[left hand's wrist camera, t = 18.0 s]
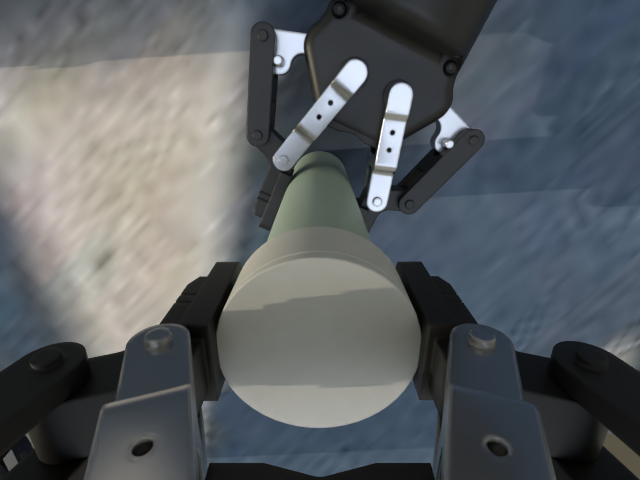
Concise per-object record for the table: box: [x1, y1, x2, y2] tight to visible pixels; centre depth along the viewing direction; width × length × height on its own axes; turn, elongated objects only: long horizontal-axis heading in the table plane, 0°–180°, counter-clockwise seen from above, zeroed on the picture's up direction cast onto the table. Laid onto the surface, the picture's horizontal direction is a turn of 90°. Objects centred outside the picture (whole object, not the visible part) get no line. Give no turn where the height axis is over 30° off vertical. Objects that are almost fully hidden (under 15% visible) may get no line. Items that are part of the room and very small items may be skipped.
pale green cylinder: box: [267, 151, 371, 242], centre depth 19 cm, size 4×4×20 cm
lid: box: [216, 226, 421, 428], centre depth 10 cm, size 5×5×2 cm
